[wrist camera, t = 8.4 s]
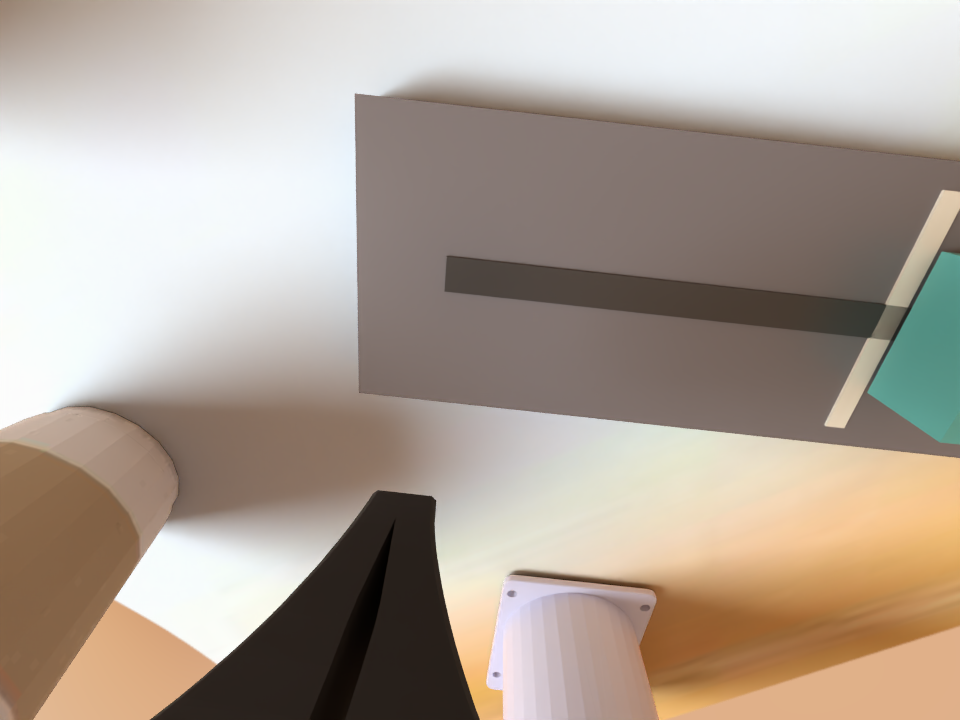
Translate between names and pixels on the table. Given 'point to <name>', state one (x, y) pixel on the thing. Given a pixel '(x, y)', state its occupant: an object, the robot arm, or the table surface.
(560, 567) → the table surface
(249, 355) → the table surface
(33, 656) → the coffee cup
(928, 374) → the fader tab
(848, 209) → the fader console
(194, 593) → the table surface
